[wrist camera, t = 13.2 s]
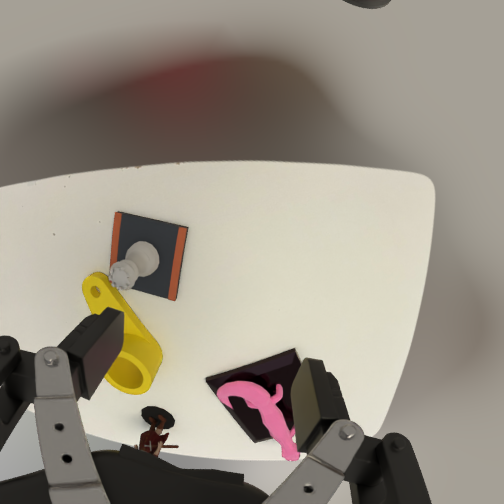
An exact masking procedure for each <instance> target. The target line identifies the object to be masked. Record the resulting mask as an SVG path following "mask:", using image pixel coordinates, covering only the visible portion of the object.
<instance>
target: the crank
mask: <svg viewBox="0 0 504 504" xmlns="http://www.w3.org/2000/svg"><path fill="white" fill-rule="evenodd" d="M111 284H112V283H110V282H109V278H108V276H106V275H105V274H103V273H100V272H95V273H93V274H91V275H90V276H88V277H87V278H86V279H85V280H84V281H83V284H82V291H83V294H84V297H85V299H86V302H87V304H88V306H89V309H90V311H91V313H92V314H98V315H100V314H101V313H102V311H103V310H104V309H105V308H106V307H111V308H114V309H117V310H120V311H123V312H124V342H123V347H122V350H121V352H120V354H119V355H118V357H117V358H116V360H115V361H114V363H113V364H112V366H111V367H110V369H109V370H108V372H107V373H106V375H105V376H104V378H105V379H106V380H107V381H108V382H109V383H110V384H111V385H112V386H113V387H115V388H116V389H118V390H120V391H122V392H124V393H128V394H133V395H139V394H143V393H145V392H147V391H148V390H149V389H150V387H151V384H152V382H153V380H154V378H155V376H156V373H157V371H158V369H159V367H160V365H161V362H162V358H163V355H162V350H161V348H160V346H159V344H158V343H157V341H156V340H155V339H154V338H153V336H152V335H151V334H150V333H149V332H148V330H147V329H146V328H145V326H144V325H143V324H142V323H141V321H140V320H139V319H138V317H137V316H136V315H135V313H134V312H133V311H132V309H131V308H130V307H129V305H128V304H127V303H126V301H125V300H124V299H123V297H122V296H121V294H120V293H119V292H118V290H117V289H116V287H113V286H112V285H111ZM96 287H97V288H98V289H99V290H100V292H98V291H97V289H96Z"/></svg>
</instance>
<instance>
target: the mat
mask: <svg viewBox="0 0 504 504" xmlns="http://www.w3.org/2000/svg"><path fill="white" fill-rule="evenodd" d="M187 232H188V227H185V226H181V225H176V224H172V223H168V222H163V221H159V220H154V219H150V218H146V217H141V216H137V215H132V214H128V213H123V212H119V211H118V212H115V217H114V226H113V235H112V246H111V259H110V268H111V266H112V265H113V264H114V263H116V262H120V261H122V260H124V259H125V257H126V253H127V251H128V249H129V248H130V247H131V246H132V245H133V244H134V243H137V242H139V241H143V242H147V243H149V244H152V245H153V247H154V248H155V249H156V250H157V252H158V255H159V265H158V268H157V269H156V270H155V271H154V272H153V273H151V274H150V275H148V276H145V277H142V276H138V279H137V280H136V281H135V283H134V286H133V287H132V288H131V289H135V290H138V291H142V292H145V293H149V294H152V295H156V296H159V297H163V298H167V299H169V300H172V301H175V300H176V298H177V293H178V286H179V279H180V273H181V267H182V261H183V255H184V249H185V243H186V238H187ZM109 282H110V283H112V281H111V280H109Z"/></svg>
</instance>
